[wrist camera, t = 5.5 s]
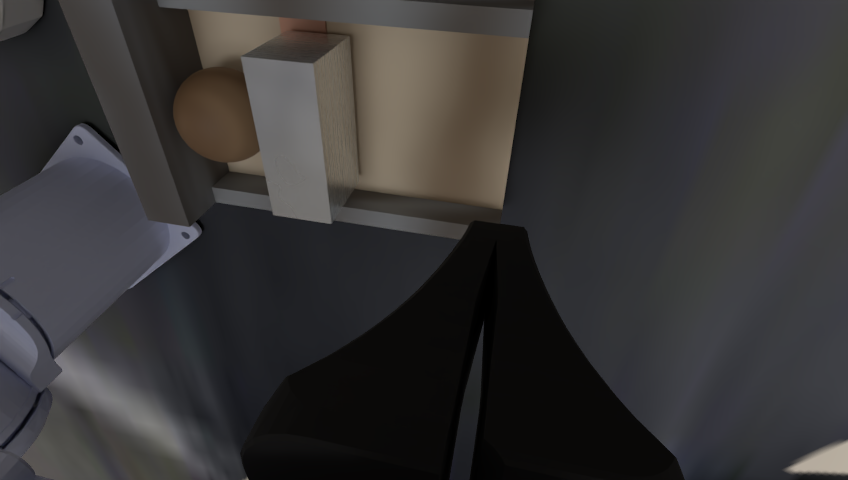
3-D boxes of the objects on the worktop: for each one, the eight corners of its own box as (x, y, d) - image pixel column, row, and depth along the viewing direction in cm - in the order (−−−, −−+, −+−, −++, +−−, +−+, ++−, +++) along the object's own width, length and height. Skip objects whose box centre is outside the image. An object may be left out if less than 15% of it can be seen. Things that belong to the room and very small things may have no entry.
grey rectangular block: (349, 35, 17) (313, 63, 14) (359, 181, 20) (331, 224, 18) (287, 30, 17) (240, 56, 15) (307, 174, 21) (273, 214, 18)
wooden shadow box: (535, -9, 16) (530, 27, 12) (502, 206, 22) (491, 278, 18) (154, -35, 19) (47, -12, 15) (211, 165, 24) (144, 221, 20)
